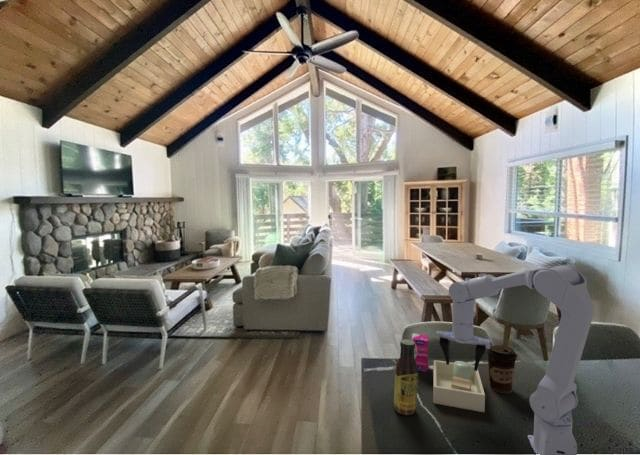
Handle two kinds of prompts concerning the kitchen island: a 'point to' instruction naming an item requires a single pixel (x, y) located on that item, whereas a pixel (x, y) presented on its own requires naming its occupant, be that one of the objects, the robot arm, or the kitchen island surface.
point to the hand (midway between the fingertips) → (461, 366)
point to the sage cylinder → (462, 370)
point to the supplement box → (421, 351)
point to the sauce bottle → (406, 380)
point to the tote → (455, 396)
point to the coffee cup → (501, 368)
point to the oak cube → (461, 384)
